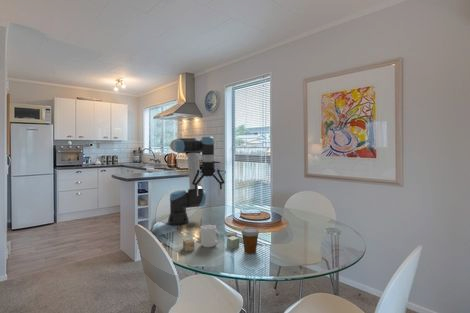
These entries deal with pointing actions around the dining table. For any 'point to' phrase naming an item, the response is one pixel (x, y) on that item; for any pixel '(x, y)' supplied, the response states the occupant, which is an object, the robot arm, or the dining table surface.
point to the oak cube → (188, 244)
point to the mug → (209, 236)
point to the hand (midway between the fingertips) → (208, 195)
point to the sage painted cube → (232, 242)
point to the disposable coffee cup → (250, 239)
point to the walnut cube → (232, 234)
